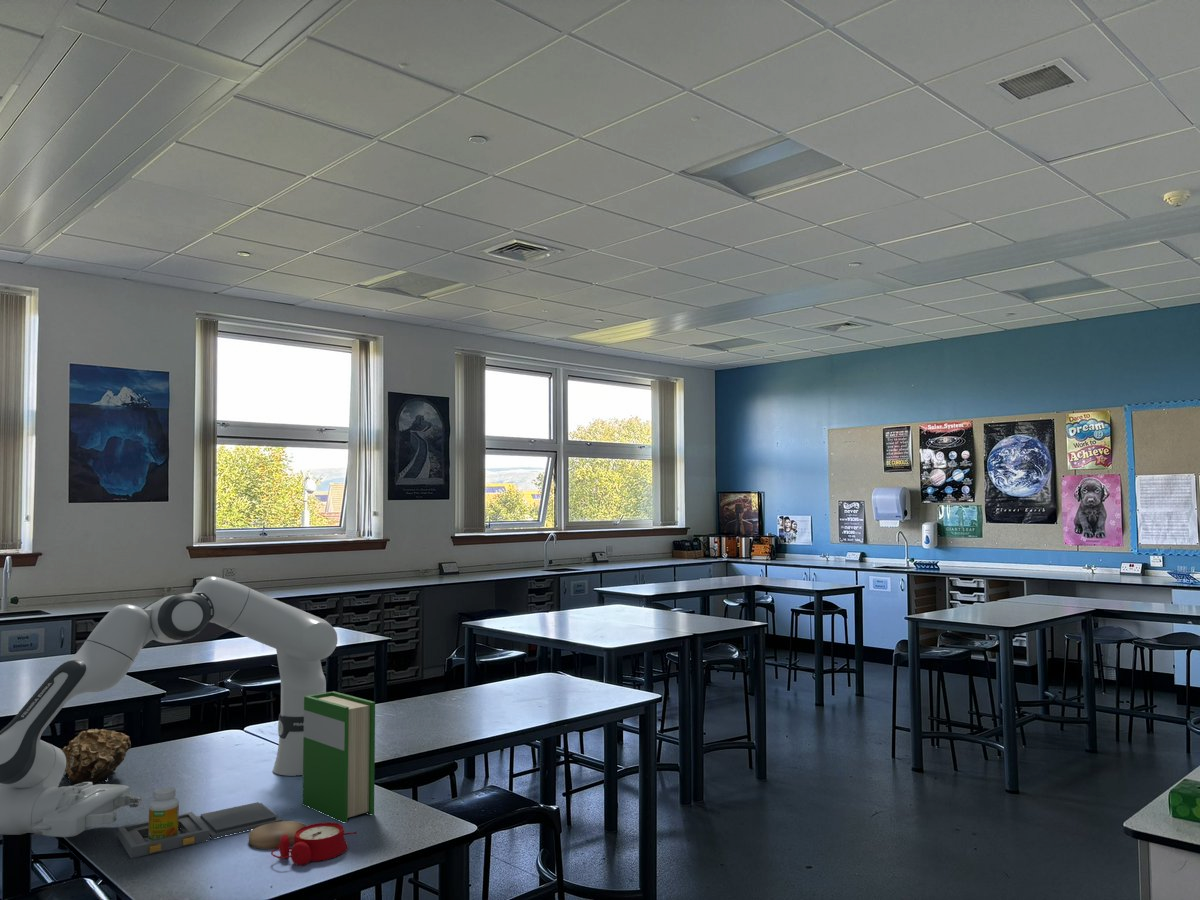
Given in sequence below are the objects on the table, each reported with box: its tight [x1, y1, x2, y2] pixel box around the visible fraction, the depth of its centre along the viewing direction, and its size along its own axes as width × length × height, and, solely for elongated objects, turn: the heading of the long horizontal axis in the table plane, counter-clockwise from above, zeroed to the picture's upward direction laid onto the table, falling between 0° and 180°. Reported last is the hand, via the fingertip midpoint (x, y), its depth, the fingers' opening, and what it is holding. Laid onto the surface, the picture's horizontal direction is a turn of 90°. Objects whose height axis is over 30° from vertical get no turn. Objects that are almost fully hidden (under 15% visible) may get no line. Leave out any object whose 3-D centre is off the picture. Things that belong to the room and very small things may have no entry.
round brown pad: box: [248, 820, 307, 850], centre depth 174 cm, size 11×11×2 cm
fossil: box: [61, 728, 132, 786], centre depth 214 cm, size 23×14×15 cm, turn 41°
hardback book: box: [302, 690, 376, 823], centre depth 191 cm, size 18×7×24 cm, turn 47°
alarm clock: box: [270, 822, 357, 866], centre depth 166 cm, size 10×6×15 cm
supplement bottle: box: [148, 786, 180, 841], centre depth 174 cm, size 5×5×10 cm
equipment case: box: [117, 801, 283, 859], centre depth 178 cm, size 28×15×2 cm, turn 129°
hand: (127, 809), depth 175 cm, fingers open, 8 cm apart
